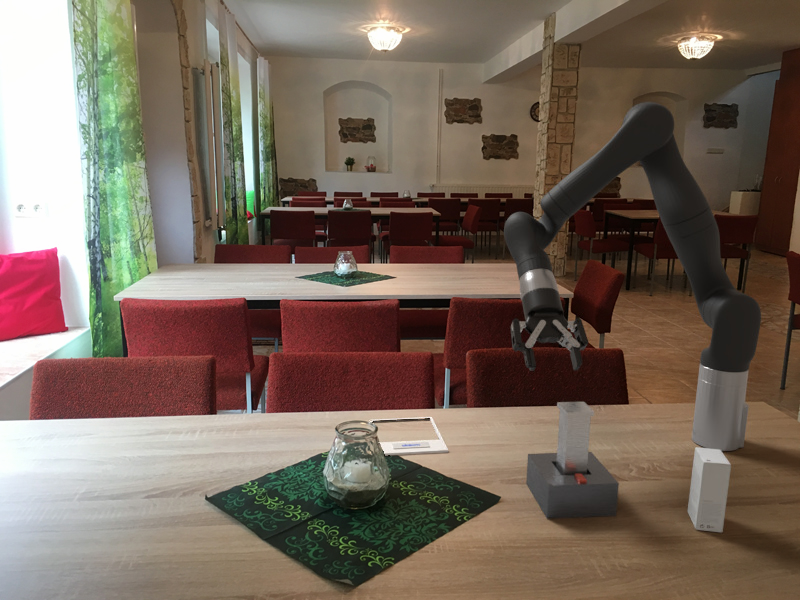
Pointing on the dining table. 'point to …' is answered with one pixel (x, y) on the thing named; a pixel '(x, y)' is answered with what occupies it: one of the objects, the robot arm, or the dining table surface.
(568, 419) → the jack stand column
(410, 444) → the photo frame
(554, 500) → the block
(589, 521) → the dining table surface
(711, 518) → the skincare box
